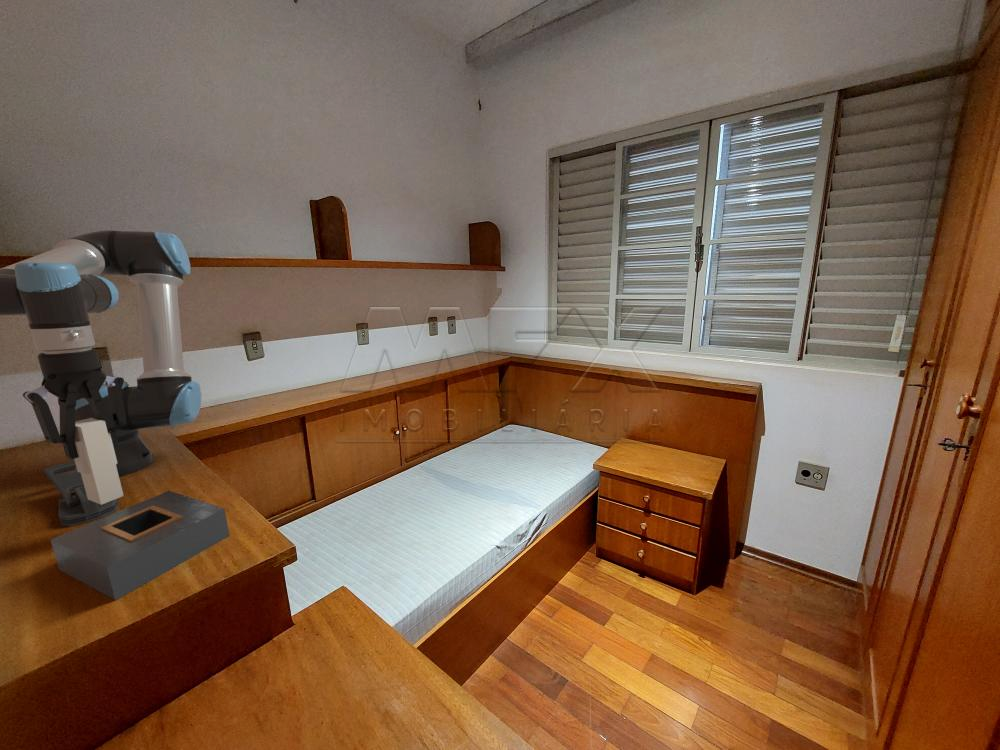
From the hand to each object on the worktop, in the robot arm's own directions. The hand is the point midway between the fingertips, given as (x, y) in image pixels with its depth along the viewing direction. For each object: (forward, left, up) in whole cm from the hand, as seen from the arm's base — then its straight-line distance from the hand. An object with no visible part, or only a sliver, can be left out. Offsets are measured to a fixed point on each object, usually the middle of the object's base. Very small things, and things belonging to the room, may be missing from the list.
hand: (97, 467), depth 78 cm
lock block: (+15, -1, -14) cm, 21 cm away
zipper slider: (-20, +3, -14) cm, 25 cm away
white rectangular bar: (0, 0, -7) cm, 7 cm away
